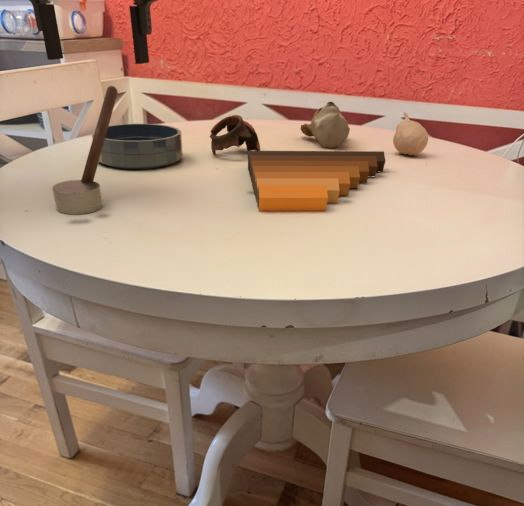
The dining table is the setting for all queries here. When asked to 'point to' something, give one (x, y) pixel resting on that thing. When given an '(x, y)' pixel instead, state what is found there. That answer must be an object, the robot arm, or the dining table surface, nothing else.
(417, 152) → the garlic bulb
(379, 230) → the dining table surface
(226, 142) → the brown hollow curved piece
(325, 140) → the ceramic sculpture
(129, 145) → the bowl
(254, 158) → the pan flute
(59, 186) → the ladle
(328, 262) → the dining table surface
